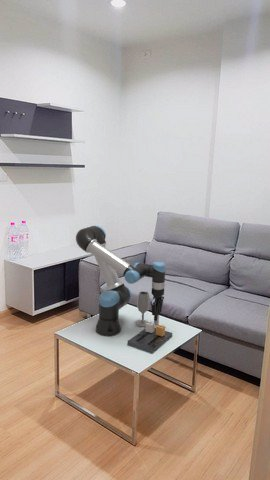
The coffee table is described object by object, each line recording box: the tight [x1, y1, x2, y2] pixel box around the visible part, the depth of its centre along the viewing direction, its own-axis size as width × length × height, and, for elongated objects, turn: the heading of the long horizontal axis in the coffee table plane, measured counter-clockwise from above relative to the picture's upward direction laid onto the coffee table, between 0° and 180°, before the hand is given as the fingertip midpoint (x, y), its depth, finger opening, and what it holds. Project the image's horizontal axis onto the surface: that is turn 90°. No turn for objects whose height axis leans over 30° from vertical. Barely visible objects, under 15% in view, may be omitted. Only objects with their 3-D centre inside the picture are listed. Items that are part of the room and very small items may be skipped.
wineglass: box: [135, 290, 151, 328], centre depth 227 cm, size 9×9×21 cm
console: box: [127, 327, 173, 354], centre depth 208 cm, size 16×24×2 cm, turn 148°
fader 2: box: [155, 324, 166, 336], centre depth 210 cm, size 4×3×5 cm
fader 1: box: [144, 321, 156, 333], centre depth 214 cm, size 4×3×5 cm
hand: (156, 324), depth 220 cm, fingers closed
